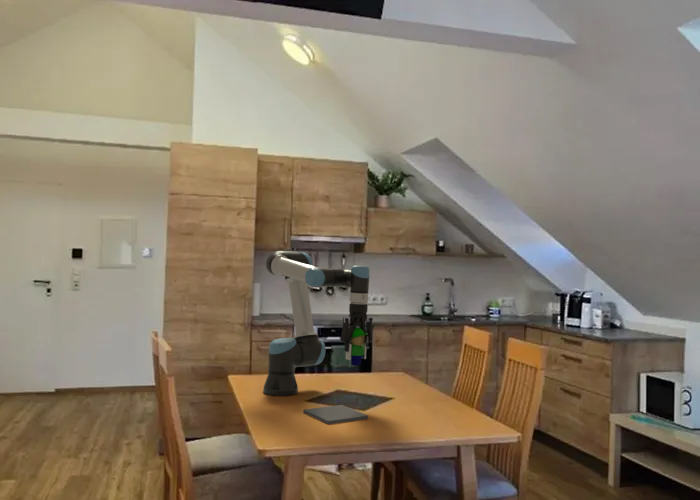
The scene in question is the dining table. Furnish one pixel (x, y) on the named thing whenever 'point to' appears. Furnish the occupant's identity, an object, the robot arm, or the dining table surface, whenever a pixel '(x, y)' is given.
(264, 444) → the dining table surface
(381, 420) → the dining table surface
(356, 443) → the dining table surface
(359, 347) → the toy
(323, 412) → the plate
